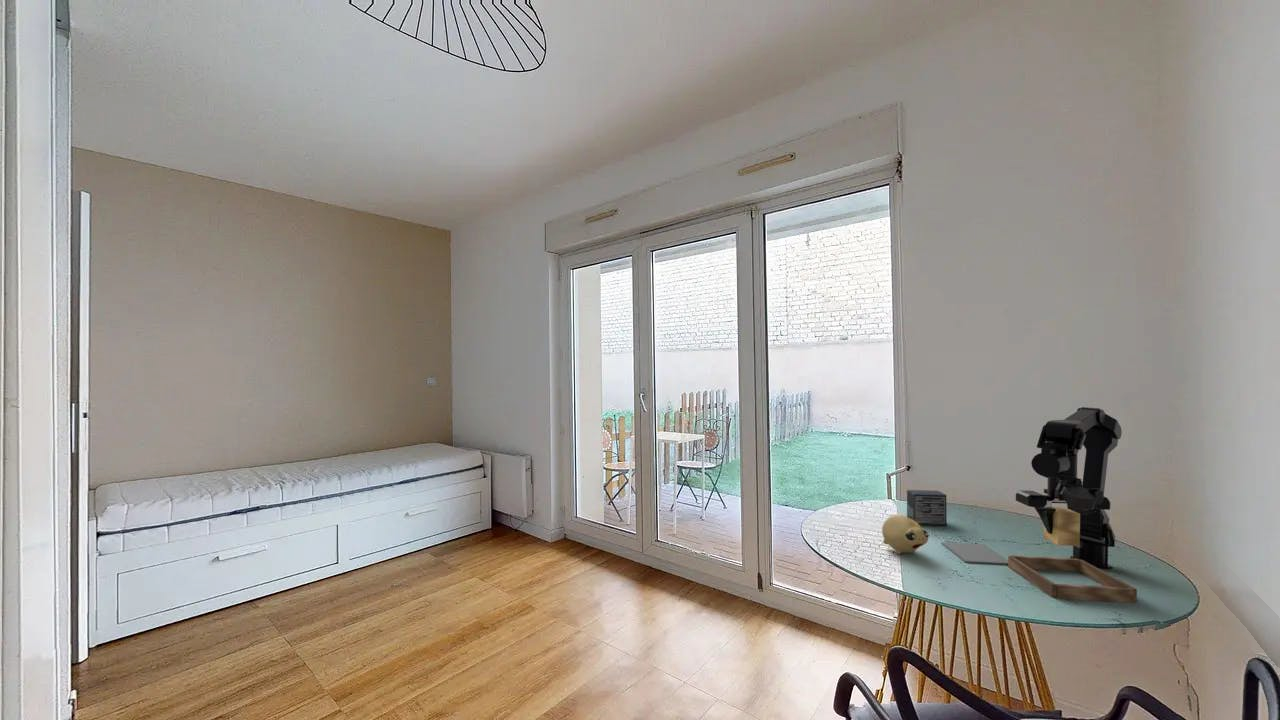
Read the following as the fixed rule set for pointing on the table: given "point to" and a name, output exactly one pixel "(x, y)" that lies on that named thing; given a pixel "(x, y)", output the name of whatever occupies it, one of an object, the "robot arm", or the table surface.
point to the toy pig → (903, 534)
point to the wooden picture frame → (1111, 592)
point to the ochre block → (1064, 527)
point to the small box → (927, 507)
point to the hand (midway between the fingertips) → (1061, 533)
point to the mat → (975, 553)
